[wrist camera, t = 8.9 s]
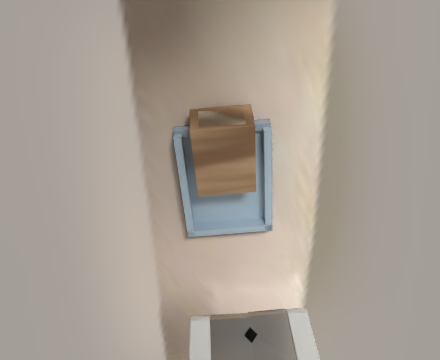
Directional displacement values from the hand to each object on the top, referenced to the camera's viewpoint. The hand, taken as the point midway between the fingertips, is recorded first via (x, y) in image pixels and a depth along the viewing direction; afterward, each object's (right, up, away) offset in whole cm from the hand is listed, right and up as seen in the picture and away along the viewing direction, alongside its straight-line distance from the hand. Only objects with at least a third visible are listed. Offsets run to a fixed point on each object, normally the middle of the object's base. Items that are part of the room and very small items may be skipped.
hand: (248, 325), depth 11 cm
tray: (0, +4, +36) cm, 36 cm away
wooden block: (-1, +10, +28) cm, 30 cm away
